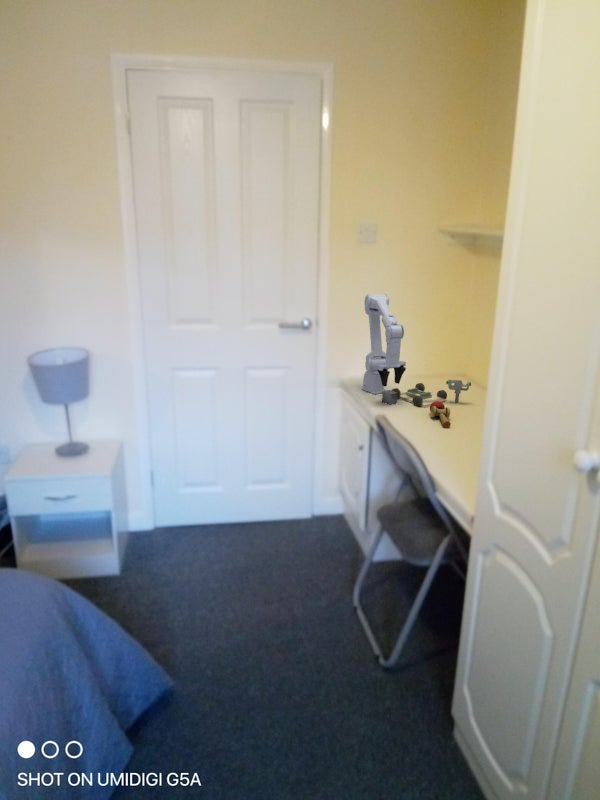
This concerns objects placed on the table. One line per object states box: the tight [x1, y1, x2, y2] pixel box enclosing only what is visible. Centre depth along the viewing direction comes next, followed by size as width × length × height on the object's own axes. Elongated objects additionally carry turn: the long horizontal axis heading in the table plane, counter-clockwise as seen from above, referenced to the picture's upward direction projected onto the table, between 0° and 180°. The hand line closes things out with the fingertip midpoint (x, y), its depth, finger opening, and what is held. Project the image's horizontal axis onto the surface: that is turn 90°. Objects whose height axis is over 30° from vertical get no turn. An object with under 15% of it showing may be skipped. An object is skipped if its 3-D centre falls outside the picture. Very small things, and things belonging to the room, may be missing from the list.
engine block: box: [381, 389, 398, 406], centre depth 256 cm, size 5×4×5 cm
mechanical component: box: [445, 379, 472, 404], centre depth 257 cm, size 3×10×10 cm, turn 78°
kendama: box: [429, 401, 451, 429], centre depth 236 cm, size 8×6×18 cm
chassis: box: [391, 382, 448, 409], centre depth 262 cm, size 20×17×4 cm
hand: (390, 384), depth 254 cm, fingers open, 7 cm apart
